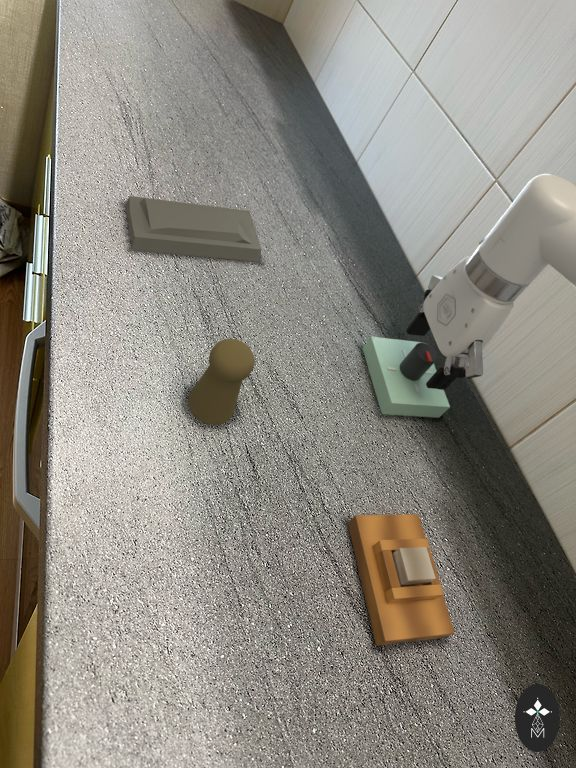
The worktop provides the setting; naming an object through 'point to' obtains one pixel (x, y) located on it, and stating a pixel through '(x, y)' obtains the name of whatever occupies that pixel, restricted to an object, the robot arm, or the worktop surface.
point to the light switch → (397, 581)
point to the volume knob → (418, 361)
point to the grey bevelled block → (191, 229)
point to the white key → (413, 566)
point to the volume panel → (401, 381)
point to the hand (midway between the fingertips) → (424, 359)
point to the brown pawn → (221, 382)
